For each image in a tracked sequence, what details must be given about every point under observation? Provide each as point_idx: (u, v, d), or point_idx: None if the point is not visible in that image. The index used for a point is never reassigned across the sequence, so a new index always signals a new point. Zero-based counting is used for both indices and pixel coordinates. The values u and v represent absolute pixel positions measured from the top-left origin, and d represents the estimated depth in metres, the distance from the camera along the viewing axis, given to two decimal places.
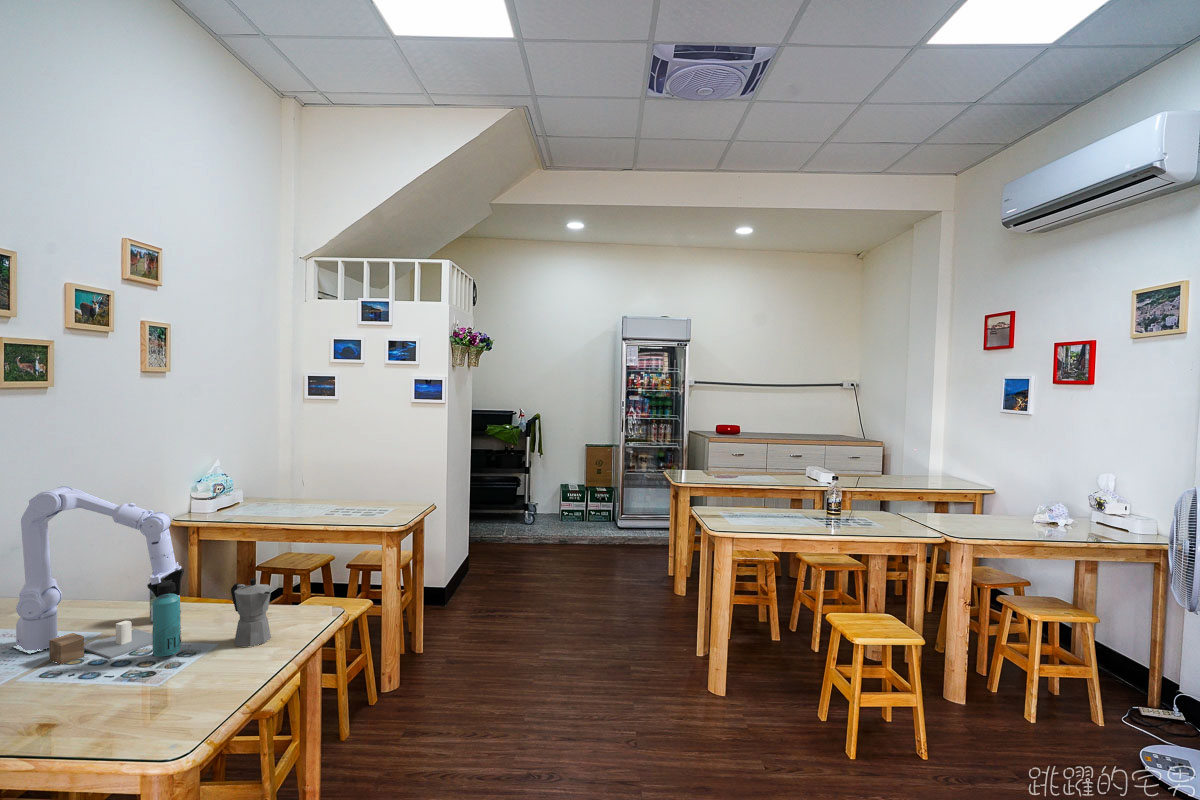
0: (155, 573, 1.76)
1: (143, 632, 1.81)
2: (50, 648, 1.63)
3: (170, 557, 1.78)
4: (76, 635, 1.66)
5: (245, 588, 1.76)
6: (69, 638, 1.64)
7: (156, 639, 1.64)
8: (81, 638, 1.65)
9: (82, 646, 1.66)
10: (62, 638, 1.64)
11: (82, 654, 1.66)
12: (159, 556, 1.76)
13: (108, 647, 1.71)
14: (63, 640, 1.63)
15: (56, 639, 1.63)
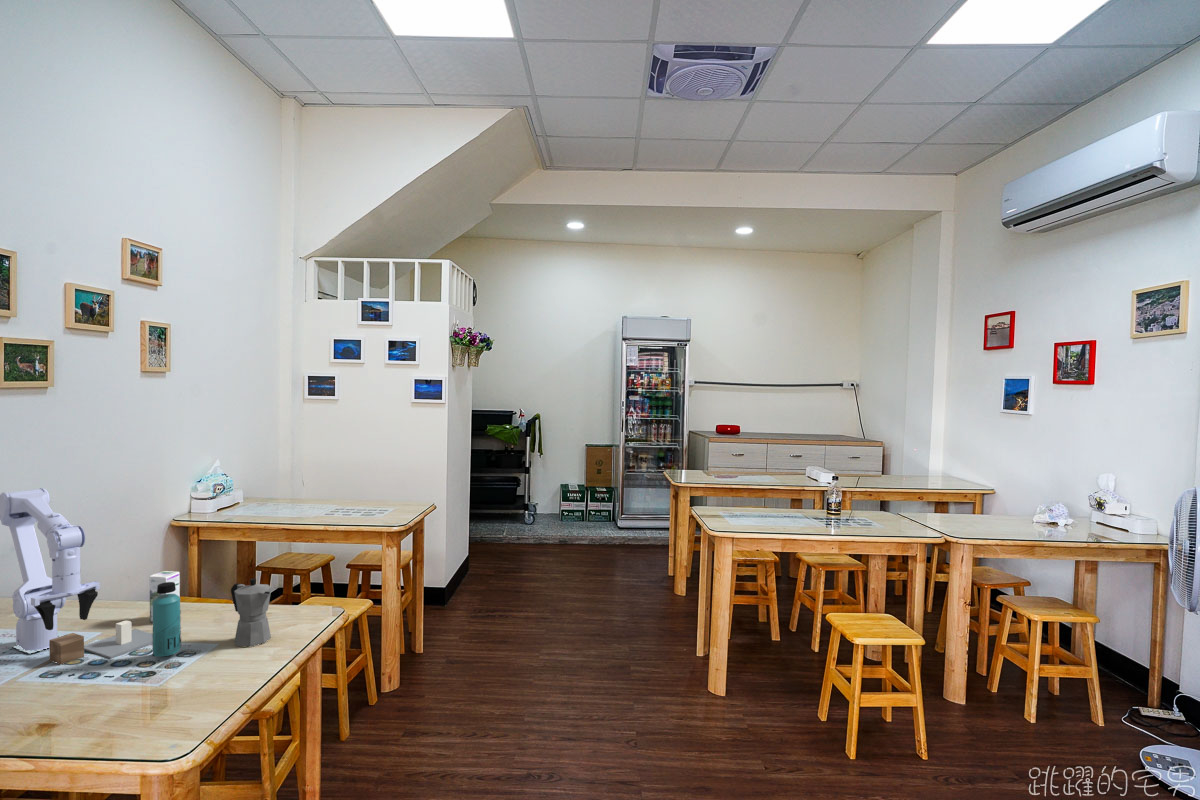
0: (51, 591, 1.62)
1: (143, 632, 1.81)
2: (50, 648, 1.63)
3: (65, 580, 1.62)
4: (76, 635, 1.66)
5: (245, 588, 1.76)
6: (69, 638, 1.64)
7: (156, 639, 1.64)
8: (81, 638, 1.65)
9: (82, 646, 1.66)
10: (62, 638, 1.64)
11: (82, 654, 1.66)
12: (54, 575, 1.61)
13: (108, 647, 1.71)
14: (63, 640, 1.63)
15: (56, 639, 1.63)
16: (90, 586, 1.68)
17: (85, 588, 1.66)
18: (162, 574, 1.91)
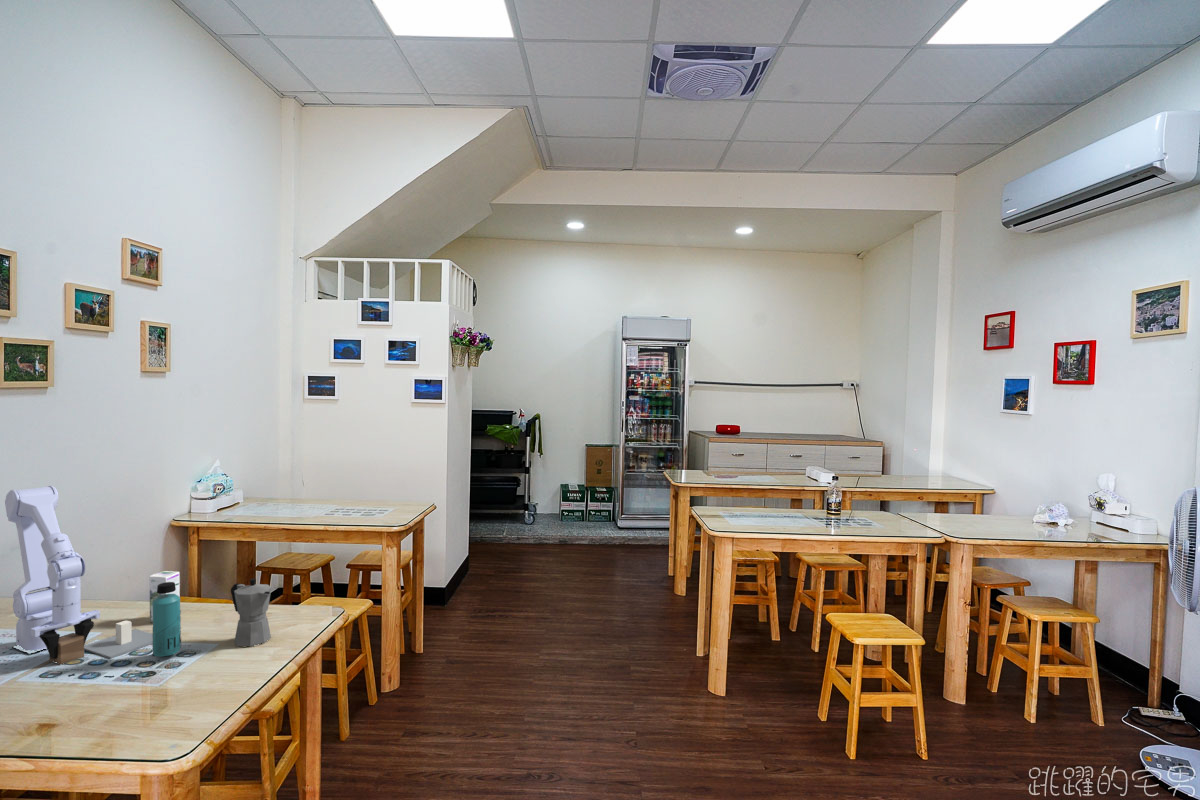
0: (51, 621, 1.62)
1: (143, 632, 1.81)
2: None
3: (65, 610, 1.62)
4: (76, 635, 1.66)
5: (245, 588, 1.76)
6: (69, 638, 1.64)
7: (156, 639, 1.64)
8: (81, 638, 1.65)
9: (82, 646, 1.66)
10: (62, 638, 1.64)
11: (82, 654, 1.66)
12: (54, 605, 1.61)
13: (108, 647, 1.71)
14: (63, 640, 1.63)
15: None
16: (90, 615, 1.68)
17: (85, 617, 1.66)
18: (162, 574, 1.91)
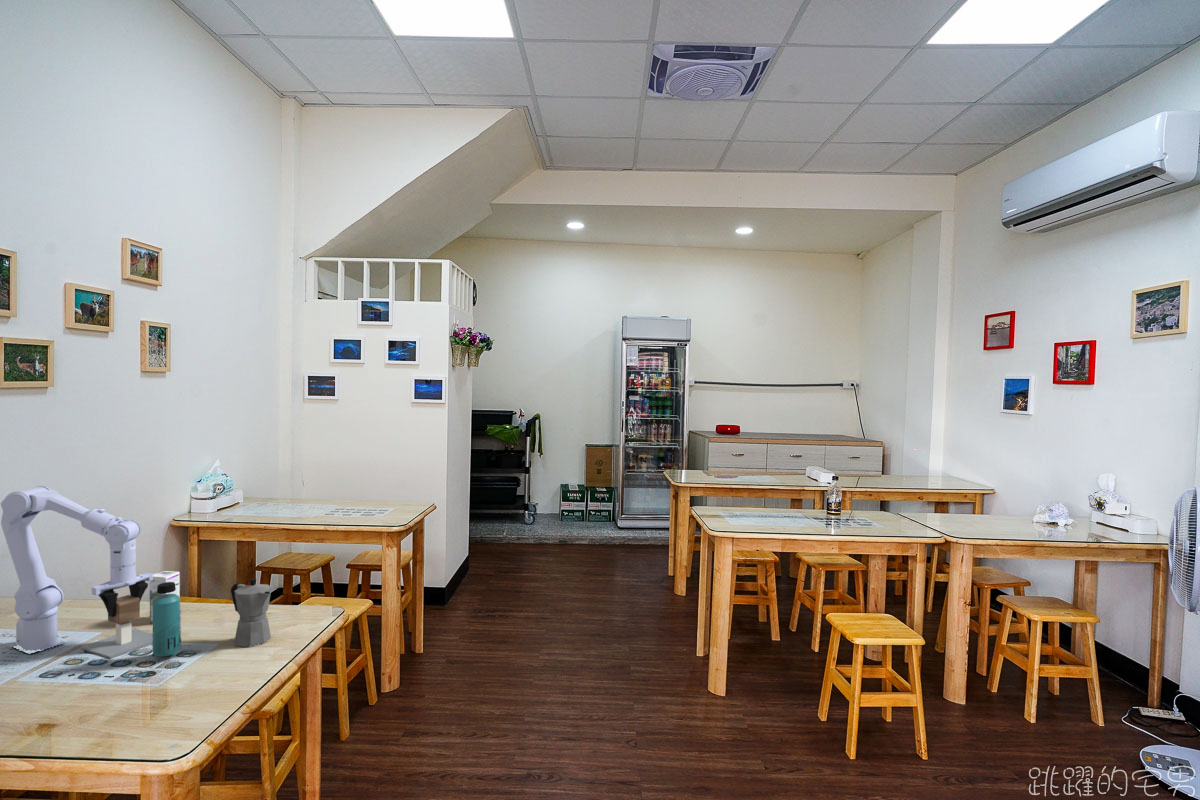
0: (109, 582, 1.72)
1: (143, 632, 1.81)
2: None
3: (123, 570, 1.71)
4: (132, 597, 1.76)
5: (245, 588, 1.76)
6: (126, 599, 1.74)
7: (156, 639, 1.64)
8: (137, 599, 1.75)
9: (138, 607, 1.75)
10: (120, 599, 1.74)
11: (138, 615, 1.75)
12: (118, 566, 1.71)
13: (108, 647, 1.71)
14: (121, 601, 1.72)
15: None
16: (144, 577, 1.78)
17: (140, 579, 1.76)
18: (162, 574, 1.91)
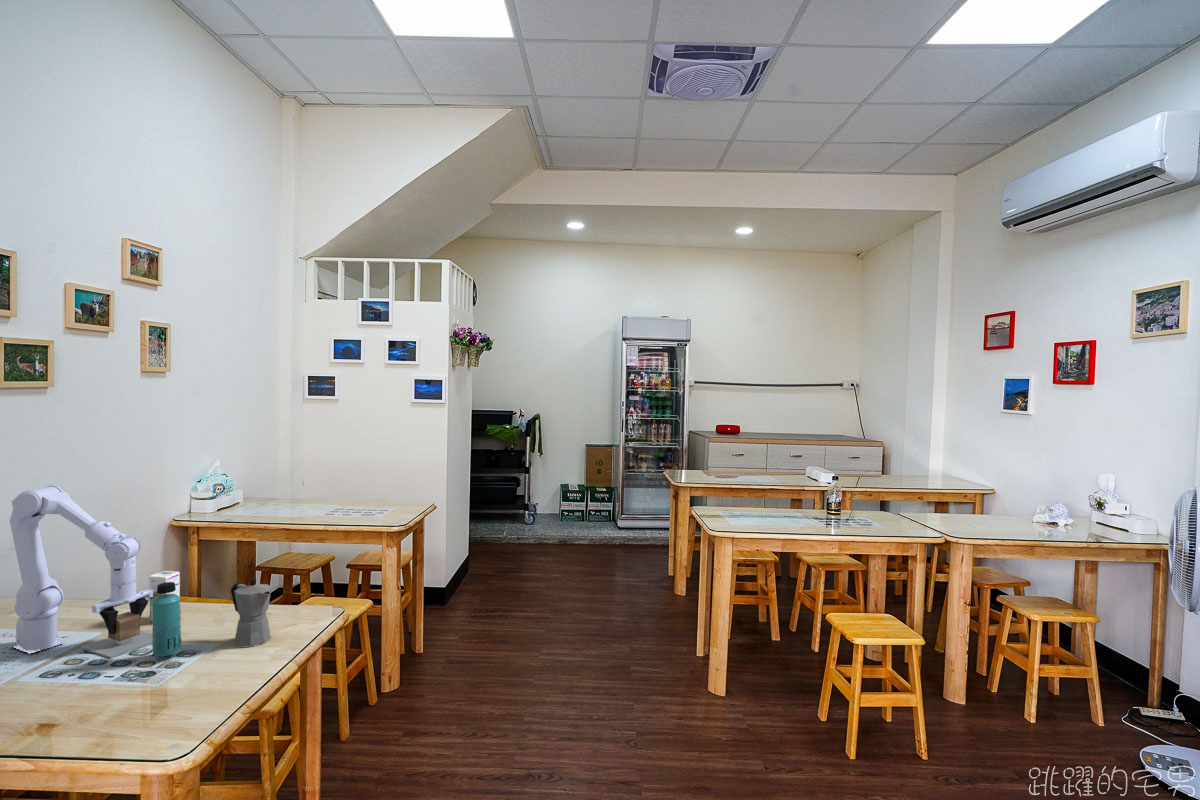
0: (110, 599, 1.72)
1: (143, 632, 1.81)
2: None
3: (123, 588, 1.72)
4: (132, 614, 1.76)
5: (245, 588, 1.76)
6: (126, 616, 1.74)
7: (156, 639, 1.64)
8: (137, 616, 1.75)
9: (138, 624, 1.75)
10: (120, 616, 1.74)
11: (138, 632, 1.75)
12: (118, 584, 1.71)
13: (108, 647, 1.71)
14: (121, 618, 1.73)
15: None
16: (144, 594, 1.78)
17: (140, 596, 1.76)
18: (162, 574, 1.91)
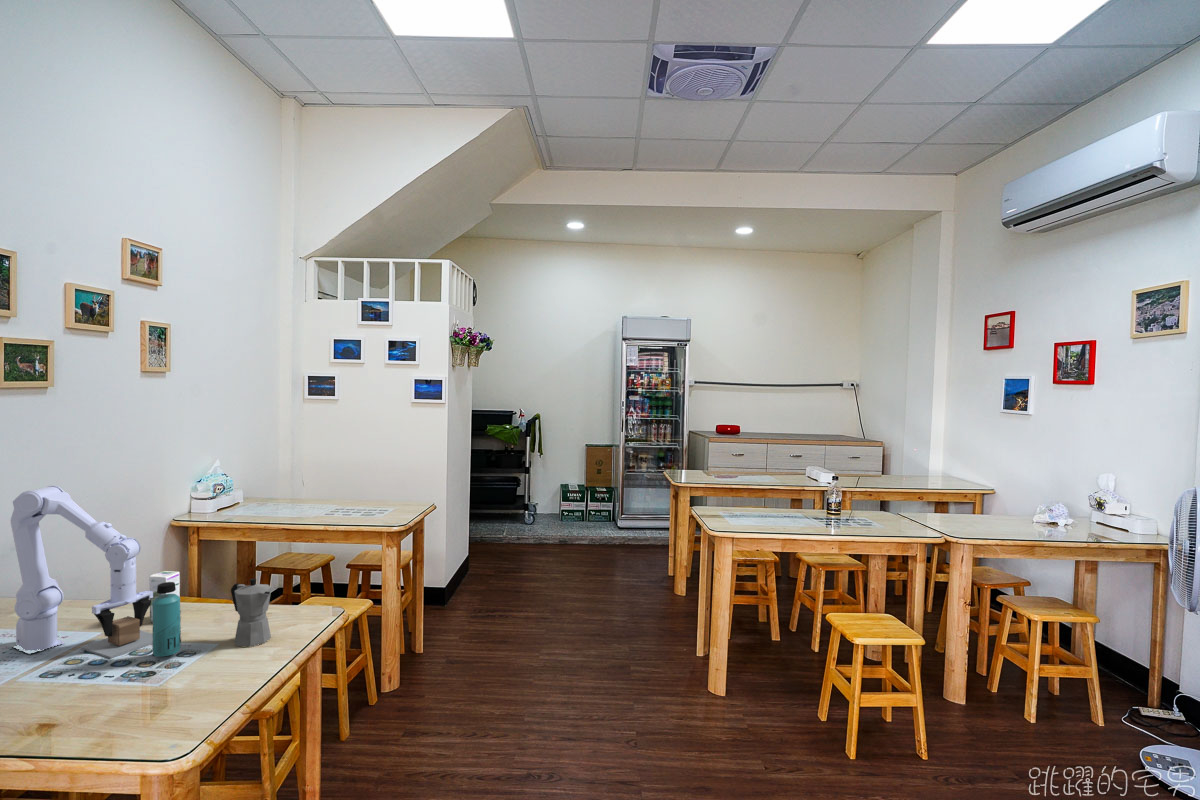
0: (110, 600, 1.72)
1: (143, 632, 1.81)
2: None
3: (123, 589, 1.72)
4: (132, 618, 1.76)
5: (245, 588, 1.76)
6: (126, 621, 1.74)
7: (156, 639, 1.64)
8: (137, 620, 1.75)
9: (138, 628, 1.75)
10: (120, 620, 1.74)
11: (138, 636, 1.75)
12: (118, 585, 1.71)
13: (108, 647, 1.71)
14: (121, 622, 1.73)
15: (114, 622, 1.73)
16: (144, 595, 1.78)
17: (140, 597, 1.76)
18: (162, 574, 1.91)
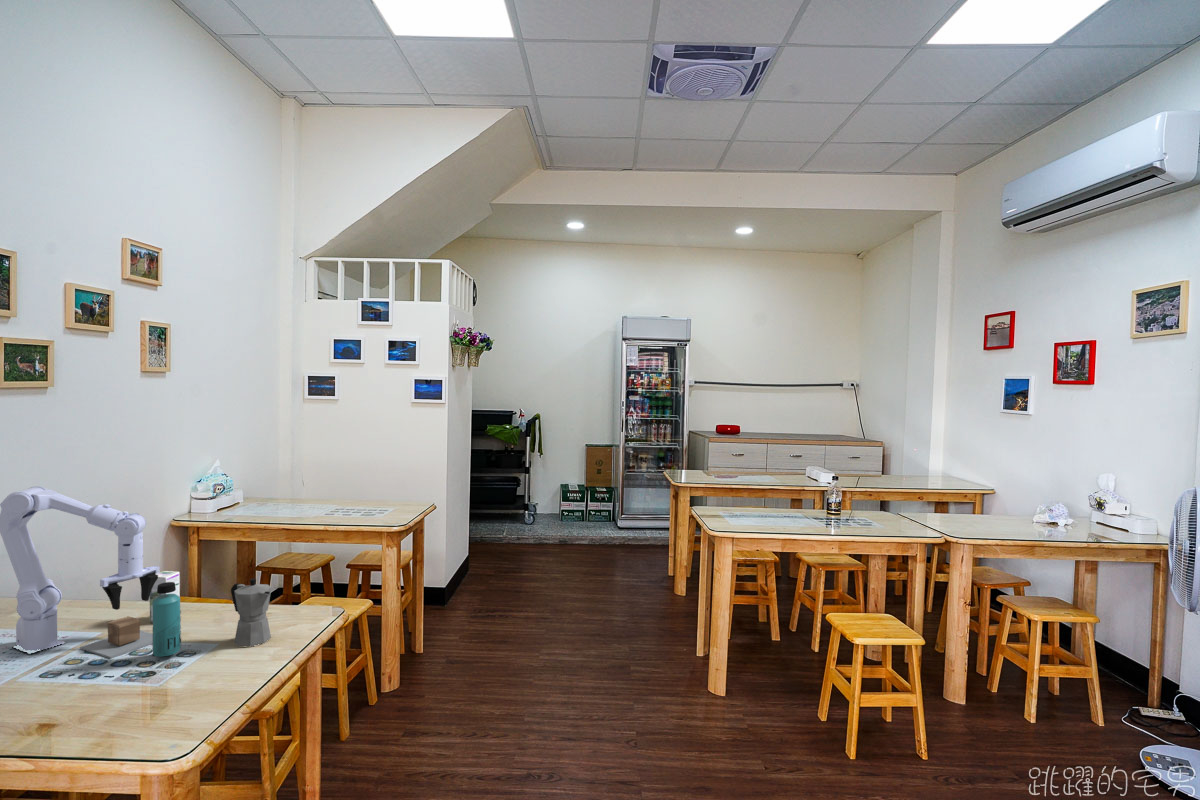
0: (117, 574, 1.76)
1: (143, 632, 1.81)
2: (109, 630, 1.73)
3: (130, 563, 1.75)
4: (132, 618, 1.76)
5: (245, 588, 1.76)
6: (126, 621, 1.74)
7: (156, 639, 1.64)
8: (137, 620, 1.75)
9: (138, 628, 1.75)
10: (120, 620, 1.74)
11: (138, 636, 1.75)
12: (128, 559, 1.75)
13: (108, 647, 1.71)
14: (121, 622, 1.73)
15: (114, 622, 1.73)
16: (151, 570, 1.81)
17: (147, 571, 1.80)
18: (162, 574, 1.91)
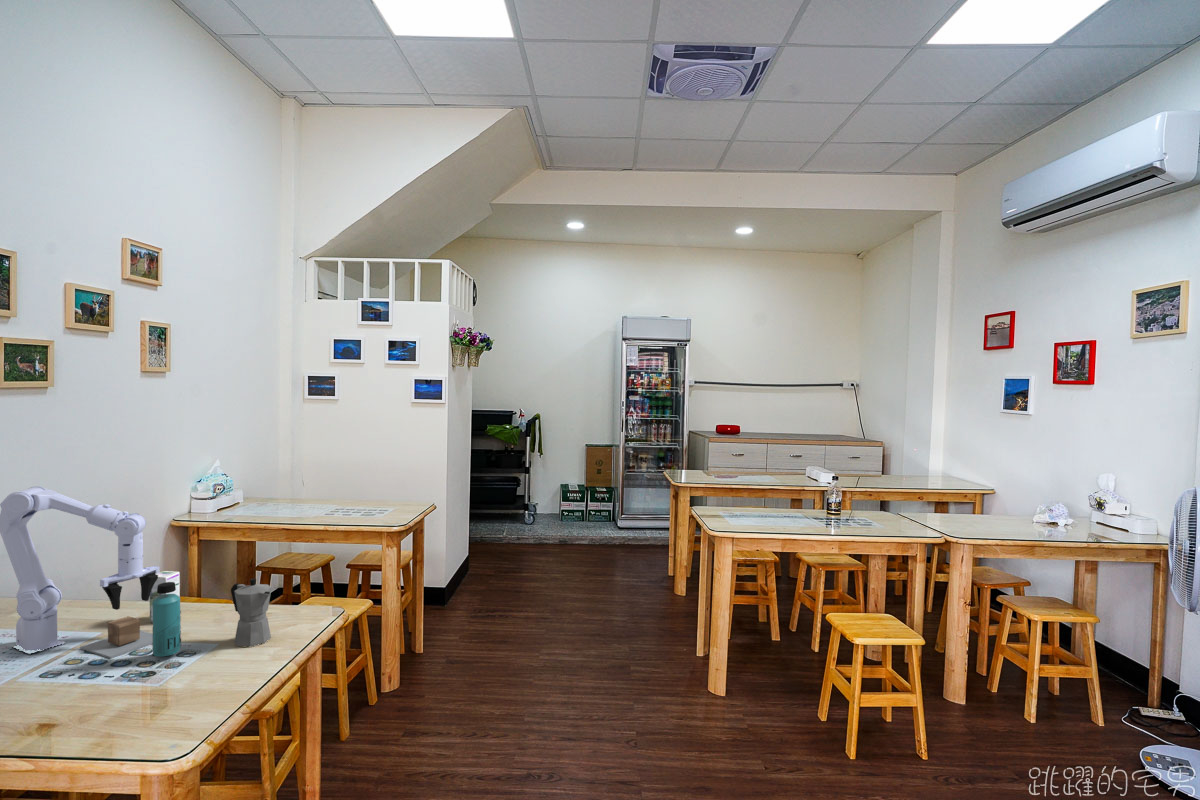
0: (117, 574, 1.76)
1: (143, 632, 1.81)
2: (109, 630, 1.73)
3: (130, 563, 1.75)
4: (132, 618, 1.76)
5: (245, 588, 1.76)
6: (126, 621, 1.74)
7: (156, 639, 1.64)
8: (137, 620, 1.75)
9: (138, 628, 1.75)
10: (120, 620, 1.74)
11: (138, 636, 1.75)
12: (128, 559, 1.75)
13: (108, 647, 1.71)
14: (121, 622, 1.73)
15: (114, 622, 1.73)
16: (151, 570, 1.81)
17: (147, 571, 1.80)
18: (162, 574, 1.91)
